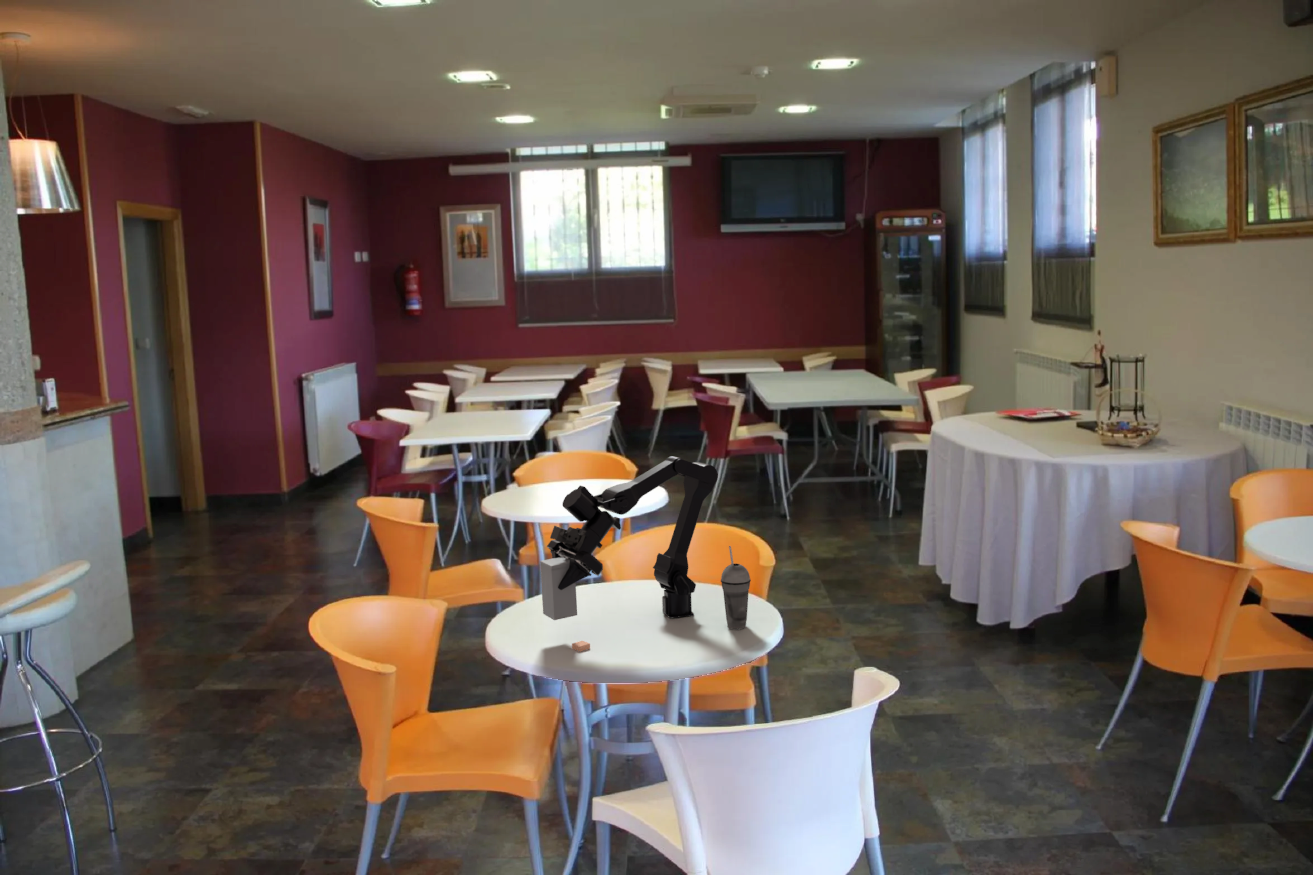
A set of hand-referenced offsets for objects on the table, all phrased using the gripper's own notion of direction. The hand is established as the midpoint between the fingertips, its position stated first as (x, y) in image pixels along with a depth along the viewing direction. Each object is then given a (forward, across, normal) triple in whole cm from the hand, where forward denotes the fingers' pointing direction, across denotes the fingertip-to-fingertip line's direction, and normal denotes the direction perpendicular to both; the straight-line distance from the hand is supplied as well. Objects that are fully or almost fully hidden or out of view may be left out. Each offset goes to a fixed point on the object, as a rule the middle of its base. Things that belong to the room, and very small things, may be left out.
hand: (553, 585), depth 254 cm
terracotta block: (+8, +8, +12) cm, 16 cm away
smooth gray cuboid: (+4, 0, +6) cm, 7 cm away
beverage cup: (-19, +17, +38) cm, 46 cm away
